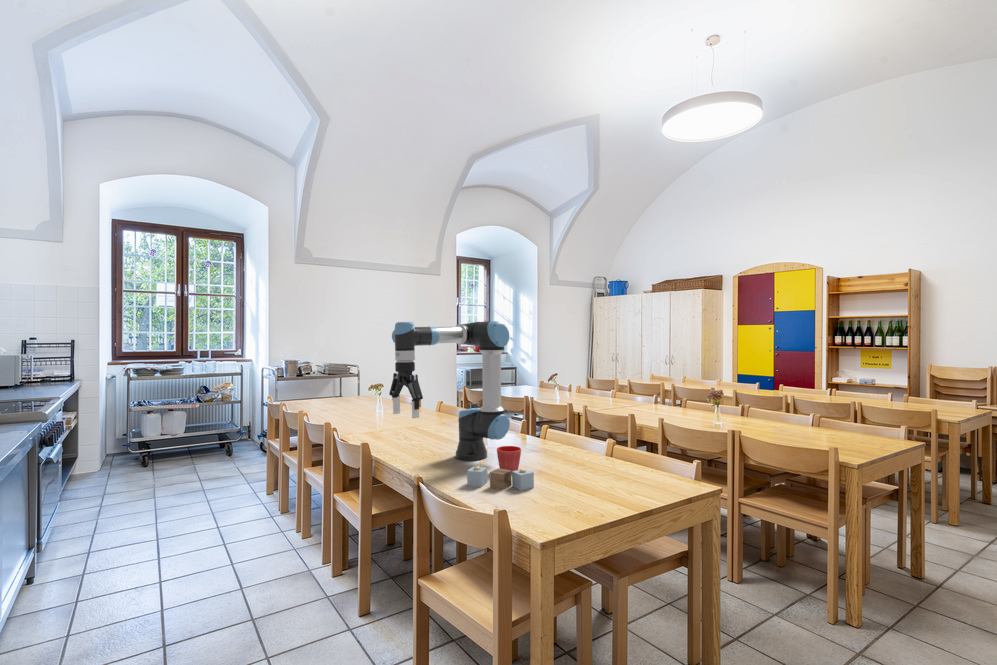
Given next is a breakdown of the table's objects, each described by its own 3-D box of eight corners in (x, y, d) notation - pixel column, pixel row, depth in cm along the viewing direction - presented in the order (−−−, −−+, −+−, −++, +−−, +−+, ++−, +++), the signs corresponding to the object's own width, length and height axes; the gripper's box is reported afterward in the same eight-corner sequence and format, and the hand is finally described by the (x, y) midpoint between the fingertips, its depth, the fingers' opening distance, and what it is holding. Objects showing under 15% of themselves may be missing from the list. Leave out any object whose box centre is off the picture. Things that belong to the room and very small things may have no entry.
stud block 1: (473, 481, 201) (472, 464, 201) (487, 482, 200) (486, 465, 200) (467, 486, 196) (467, 468, 196) (481, 487, 194) (481, 469, 194)
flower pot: (522, 467, 221) (521, 445, 221) (520, 474, 210) (520, 451, 210) (498, 467, 222) (497, 445, 222) (495, 474, 211) (495, 451, 211)
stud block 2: (525, 484, 197) (524, 466, 197) (533, 488, 192) (533, 470, 192) (512, 486, 194) (512, 469, 194) (520, 490, 189) (520, 472, 189)
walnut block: (498, 483, 199) (498, 468, 199) (511, 485, 195) (511, 470, 195) (490, 487, 194) (489, 472, 194) (503, 490, 190) (502, 474, 190)
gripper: (380, 360, 202) (381, 413, 202) (414, 363, 184) (415, 421, 184) (396, 359, 207) (397, 411, 207) (431, 362, 189) (432, 418, 189)
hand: (405, 415), depth 196 cm, fingers open, 13 cm apart
